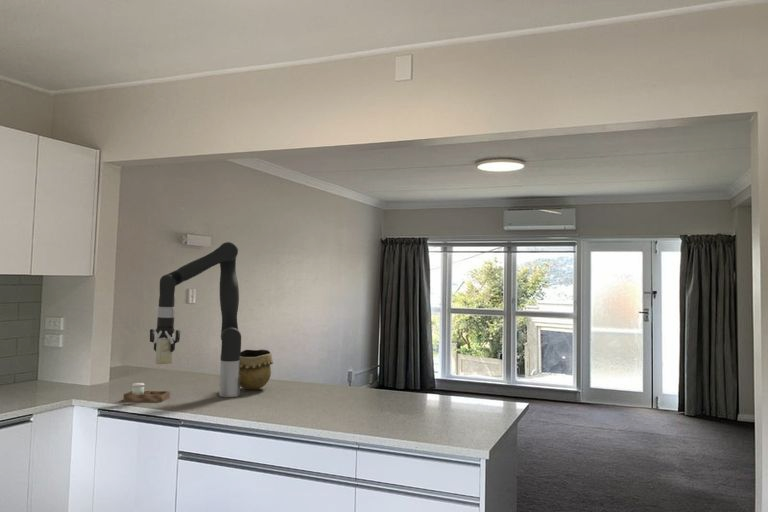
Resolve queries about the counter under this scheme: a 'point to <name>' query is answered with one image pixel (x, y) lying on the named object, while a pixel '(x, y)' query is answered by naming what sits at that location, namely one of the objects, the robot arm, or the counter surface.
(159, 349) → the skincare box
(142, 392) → the jar
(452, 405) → the counter surface
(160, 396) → the caddy
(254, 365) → the clay pot
